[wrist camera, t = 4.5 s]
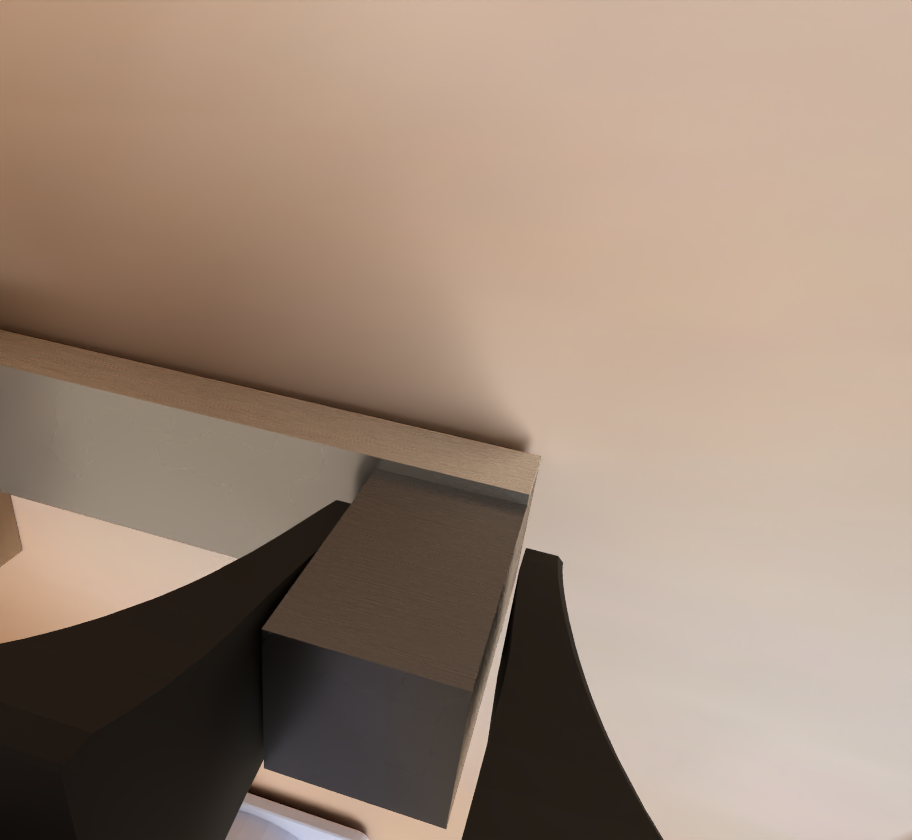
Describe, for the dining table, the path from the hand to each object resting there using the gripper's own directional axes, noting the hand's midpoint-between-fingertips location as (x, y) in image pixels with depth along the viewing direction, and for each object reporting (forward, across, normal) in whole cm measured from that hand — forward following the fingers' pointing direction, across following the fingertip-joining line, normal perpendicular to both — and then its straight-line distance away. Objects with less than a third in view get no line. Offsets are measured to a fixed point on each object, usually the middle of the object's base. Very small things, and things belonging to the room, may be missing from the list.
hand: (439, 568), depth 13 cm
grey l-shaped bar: (+2, +11, 0) cm, 11 cm away
